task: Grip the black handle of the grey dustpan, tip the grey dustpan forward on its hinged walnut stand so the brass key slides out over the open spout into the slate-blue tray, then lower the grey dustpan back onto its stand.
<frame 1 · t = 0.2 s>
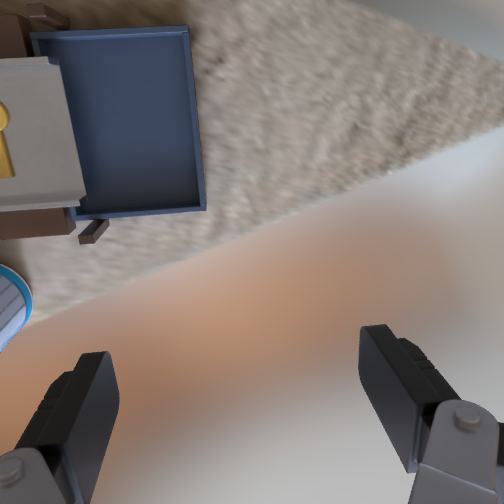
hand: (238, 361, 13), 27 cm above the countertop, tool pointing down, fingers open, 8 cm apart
stand: (84, 131, 35), on the countertop
tray: (130, 128, 35), on the countertop
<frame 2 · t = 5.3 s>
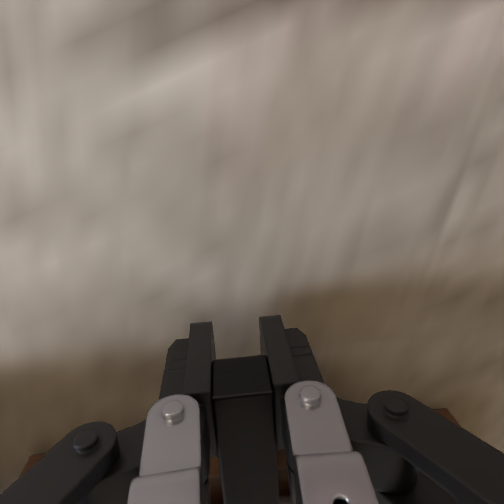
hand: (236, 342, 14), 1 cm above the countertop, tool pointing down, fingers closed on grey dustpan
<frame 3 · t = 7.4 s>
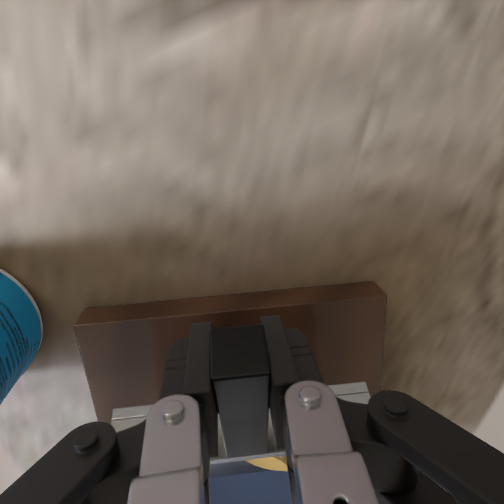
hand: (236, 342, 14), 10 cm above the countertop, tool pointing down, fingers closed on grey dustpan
stand: (245, 445, 28), on the countertop
grey dustpan: (245, 439, 18), point 8 cm above the countertop, hinge at 26.7°, touching gripper, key
tray: (249, 486, 30), on the countertop
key: (296, 472, 20), point 7 cm above the countertop, tilted 147°, touching grey dustpan
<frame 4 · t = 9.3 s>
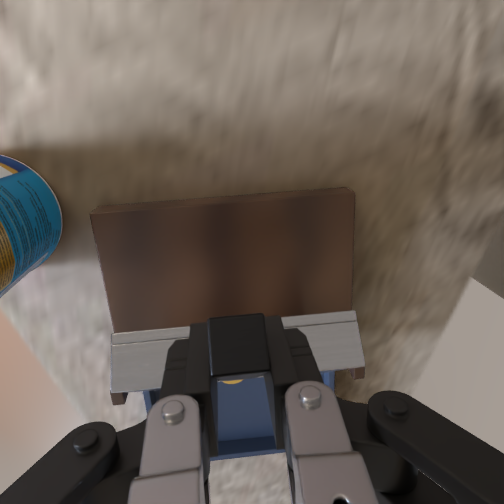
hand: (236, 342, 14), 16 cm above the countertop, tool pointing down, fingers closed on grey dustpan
stand: (236, 343, 32), on the countertop
grey dustpan: (238, 353, 19), point 11 cm above the countertop, hinge at 51.3°, touching gripper
tray: (240, 384, 33), on the countertop
beverage bottle: (4, 212, 27), on the countertop
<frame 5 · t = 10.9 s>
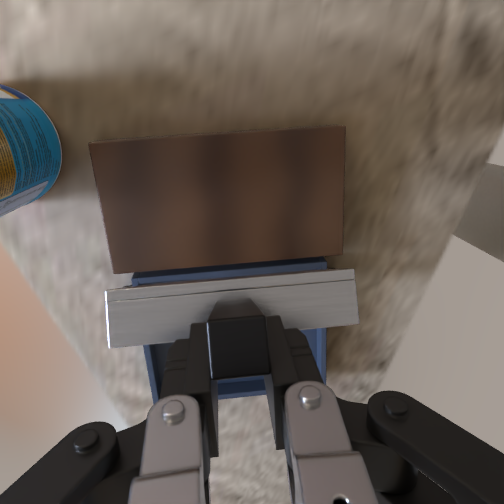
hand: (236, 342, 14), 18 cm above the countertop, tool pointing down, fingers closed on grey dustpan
stand: (231, 283, 33), on the countertop
grey dustpan: (233, 304, 19), point 13 cm above the countertop, hinge at 66.9°, touching gripper
tray: (235, 325, 34), on the countertop
beverage bottle: (5, 146, 28), on the countertop
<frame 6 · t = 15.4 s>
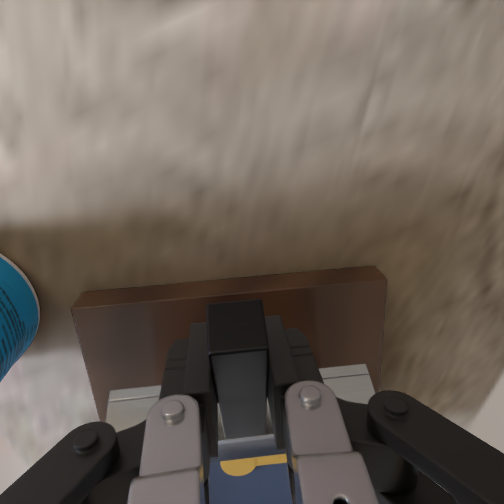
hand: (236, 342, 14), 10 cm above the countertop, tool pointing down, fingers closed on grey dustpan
stand: (244, 431, 28), on the countertop
grey dustpan: (244, 421, 18), point 8 cm above the countertop, hinge at 26.9°, touching gripper
tray: (248, 472, 30), on the countertop
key: (263, 455, 28), resting on tray
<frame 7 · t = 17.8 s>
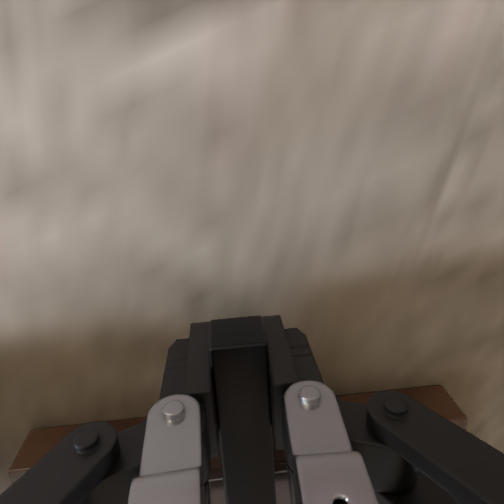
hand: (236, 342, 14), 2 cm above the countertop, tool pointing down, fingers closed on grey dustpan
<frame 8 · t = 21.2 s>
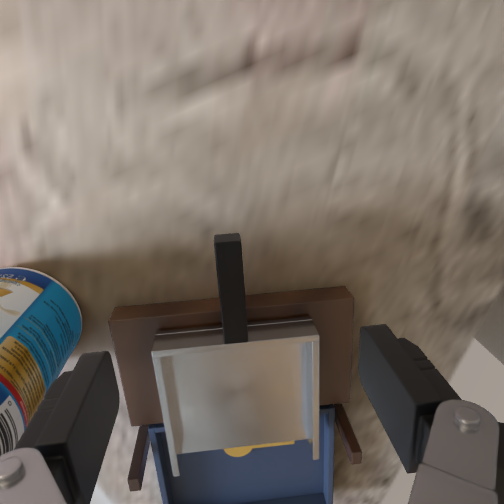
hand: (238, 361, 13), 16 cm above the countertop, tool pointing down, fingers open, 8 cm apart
stand: (242, 420, 34), on the countertop
grey dustpan: (237, 357, 28), point 3 cm above the countertop, hinge at -0.4°
tray: (245, 454, 36), on the countertop
beverage bottle: (27, 314, 29), on the countertop
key: (258, 439, 35), resting on tray
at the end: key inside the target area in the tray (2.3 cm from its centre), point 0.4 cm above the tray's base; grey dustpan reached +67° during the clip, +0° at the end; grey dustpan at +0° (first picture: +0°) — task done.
